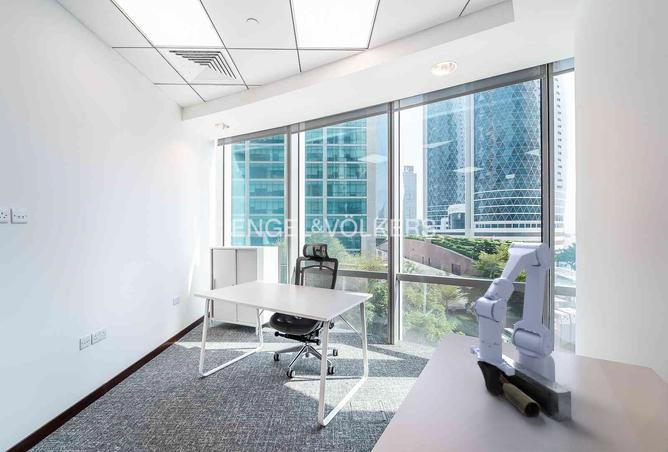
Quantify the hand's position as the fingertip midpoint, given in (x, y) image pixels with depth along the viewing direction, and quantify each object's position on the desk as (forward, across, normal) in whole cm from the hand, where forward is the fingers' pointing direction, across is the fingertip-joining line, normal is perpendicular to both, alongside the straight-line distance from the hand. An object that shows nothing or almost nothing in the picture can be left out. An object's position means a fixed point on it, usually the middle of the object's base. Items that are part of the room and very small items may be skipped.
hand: (491, 388), depth 80 cm
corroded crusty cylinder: (+3, 0, +4) cm, 5 cm away
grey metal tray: (+3, 0, +11) cm, 11 cm away
